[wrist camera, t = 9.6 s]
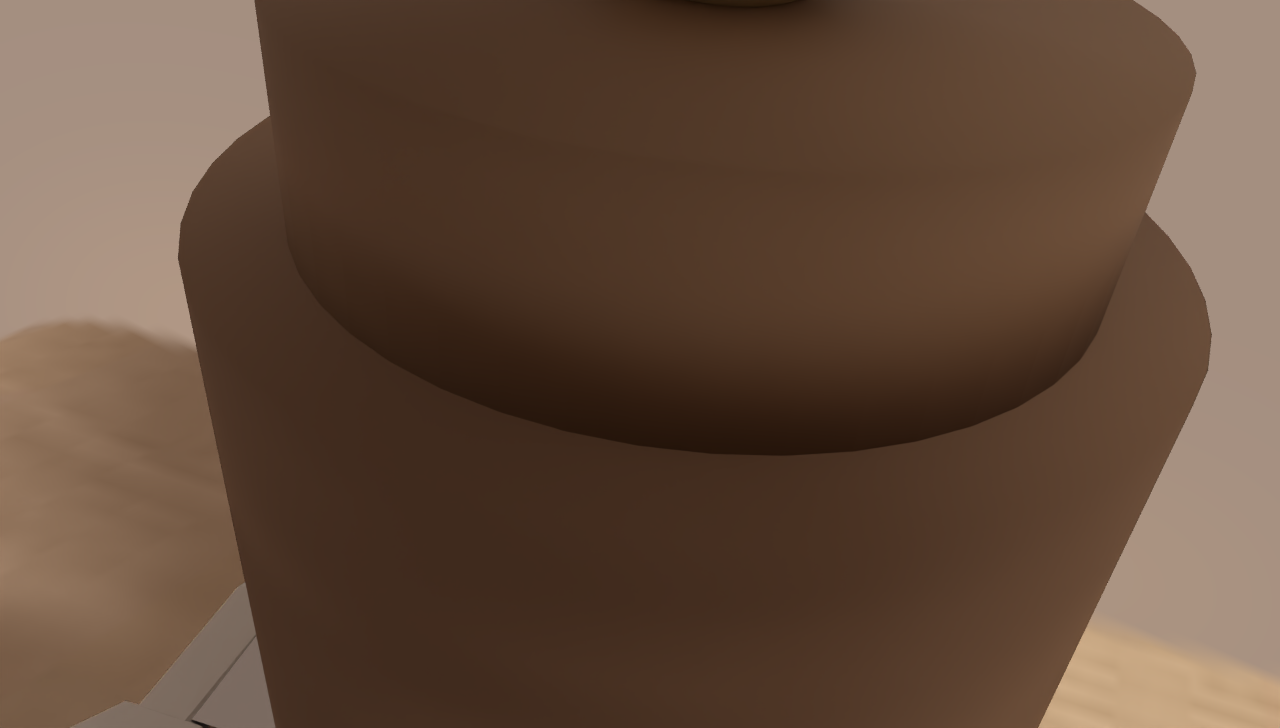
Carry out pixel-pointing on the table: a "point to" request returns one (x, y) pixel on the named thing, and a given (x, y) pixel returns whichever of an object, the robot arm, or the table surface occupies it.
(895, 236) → the pepper mill
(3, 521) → the table surface
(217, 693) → the robot arm
